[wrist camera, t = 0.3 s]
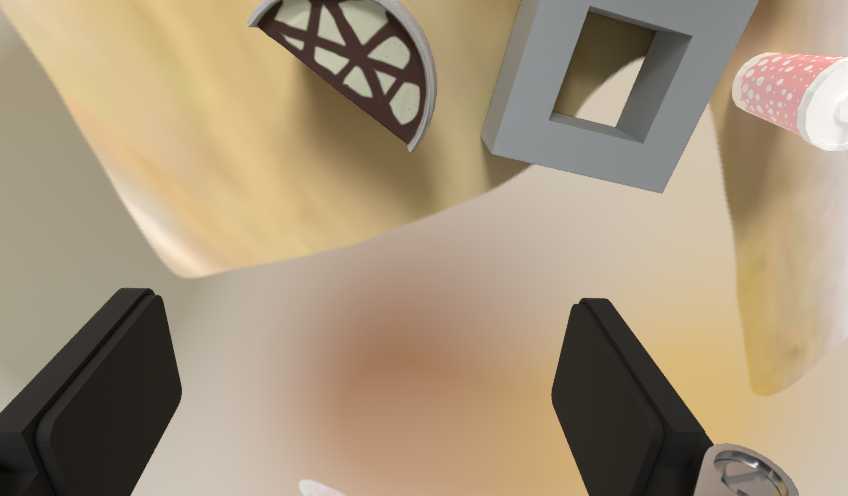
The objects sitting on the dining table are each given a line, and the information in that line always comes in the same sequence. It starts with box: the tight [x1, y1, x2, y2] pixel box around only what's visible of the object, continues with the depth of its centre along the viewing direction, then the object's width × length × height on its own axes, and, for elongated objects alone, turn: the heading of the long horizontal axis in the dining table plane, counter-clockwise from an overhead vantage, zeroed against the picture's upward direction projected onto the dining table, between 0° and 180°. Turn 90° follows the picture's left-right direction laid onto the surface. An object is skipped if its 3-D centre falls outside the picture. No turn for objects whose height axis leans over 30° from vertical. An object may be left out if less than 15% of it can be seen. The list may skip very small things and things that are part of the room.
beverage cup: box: [732, 53, 848, 151], centre depth 33 cm, size 6×6×14 cm
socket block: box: [481, 0, 759, 193], centre depth 35 cm, size 14×14×5 cm
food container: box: [247, 0, 437, 152], centre depth 31 cm, size 12×6×10 cm, turn 51°
